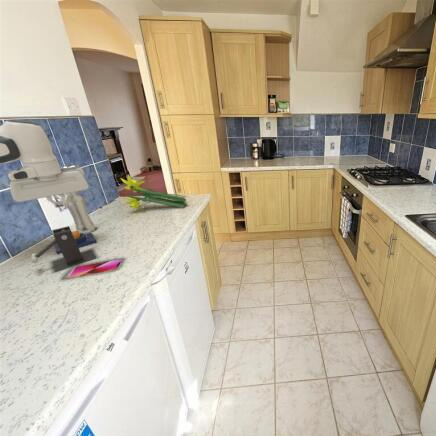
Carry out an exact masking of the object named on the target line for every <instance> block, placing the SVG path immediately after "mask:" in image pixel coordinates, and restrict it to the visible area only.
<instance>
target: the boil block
mask: <svg viewBox="0 0 436 436" xmlns="http://www.w3.org/2000/svg"><path fill="white" fill-rule="evenodd" d="M80 236H81V237H79V238H77V239H75V241H76V243H77V246H78V248H79V249H81V248H83V247H88V246H90V245H93V244H94V245H95V244H97V242H98V241H97V239H96V238H95V236H94V234H93V233H92V232H89V233H80ZM54 249H55V252H56V255H60V254H62V252H61V250H60V248H59V246H58V244H57V243H56V244H55V245H54Z"/></svg>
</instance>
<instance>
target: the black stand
mask: <svg viewBox="0 0 436 436" xmlns="http://www.w3.org/2000/svg"><path fill="white" fill-rule="evenodd" d="M63 229H64V230H66V231H62V232H60V231H61V230H63ZM72 232H73V231H72V230H71V227H70V226H69V225H67V226H63V227H59V228H55V229H52V235H53V238H54V240H56V242H57V244H58V246H59V248H60V250H61V252H62V253H61V254H62V256H63V257H62V258H59V259H56V260H53V261H52V264H53V268H54V272H55V273H58V272H61V271H63V270H66V269H69V268H72V267H76V266H79V265H81V264H85V263H87V262H90V261H93V260H96V259H97V257H96V255H95V253H94V251H93V249H91V248H90V249H88V250H84V251H81V250H80V248H78V246H77V243H76V241H75V239H74V236H73V234H72Z"/></svg>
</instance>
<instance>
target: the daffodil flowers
mask: <svg viewBox="0 0 436 436" xmlns="http://www.w3.org/2000/svg"><path fill="white" fill-rule="evenodd" d="M126 178H127V180H126V179H124V178H122V177H120V178H119V179H120V180H121V181H122V182H123V183H124V184H125V185H126V186H125V188H124V189H125V190H132V191H133V193H131V194H124V196H125V197H123V199H125V200H128V201H126V202H124V205H129V207H130V209H131V208H132V209H139V206H140V207H141V208H143V205H146V204H148V203H154V204H159V205H164V206H170V207H175V208H181V209H185V206H186V201H187V199H186V198H187V196H186V195H181V194H173V193H168V192H167V193H166V192H160V191H156V190H153V189H151V188H149V187H147V186H146V185H145V184H143V183H145V182H146V180H141V181H137V180H136V179H132V177H131V176H130V175H129V174H127V177H126ZM141 185H142V187H140V186H141ZM134 194H138V195H141V196H142V197H140V196H134ZM141 204H142V205H141Z"/></svg>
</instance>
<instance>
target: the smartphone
mask: <svg viewBox="0 0 436 436" xmlns="http://www.w3.org/2000/svg"><path fill="white" fill-rule="evenodd" d="M123 262H124V259H123V258H117V259H111V260H106V261H100V262H94V263H89V264H83V265H76V266H75V268H74V269H72V270H73V271H72V272H71V273H70V274H69V276H68V277H67V279H76V278H80V277H87V276H92V275H97V274H104V273H110V272H114V271H117V270H118V269H119V268H120V267H121V265H122V264H123Z"/></svg>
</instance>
